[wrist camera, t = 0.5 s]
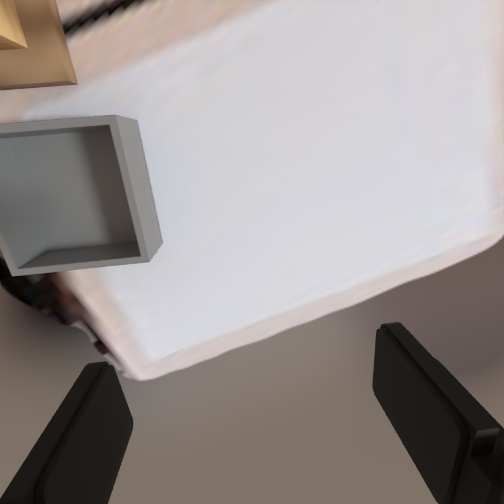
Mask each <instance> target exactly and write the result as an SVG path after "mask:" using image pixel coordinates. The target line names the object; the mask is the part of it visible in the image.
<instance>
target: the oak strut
mask: <svg viewBox="0 0 504 504" xmlns="http://www.w3.org/2000/svg"><path fill="white" fill-rule="evenodd" d="M26 48H28V47H27V43H26V40H25V37H24V34H23V31H22V27H21V24H20V21H19V18H18V14H17V11H16V8H15V5H14V1H13V0H0V50H12V49H26Z"/></svg>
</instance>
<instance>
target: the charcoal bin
mask: <svg viewBox="0 0 504 504" xmlns="http://www.w3.org/2000/svg"><path fill="white" fill-rule="evenodd" d="M162 243H163V241H162V237H161V232H160V227H159V222H158V217H157V212H156V208H155V203H154V198H153V193H152V188H151V184H150V179H149V174H148V169H147V164H146V159H145V155H144V150H143V145H142V140H141V135H140V131H139V126H138V121H137V120H134V119H130V118H126V117H122V116H119V115H105V116H93V117H81V118H69V119H56V120H44V121H32V122H20V123H7V124H0V249H1V251H2V253H3V256H4V258H5V260H6V263H7V265H8V267H9V270H10V272H11V274H12V276H20V275H29V274H39V273H49V272H58V271H68V270H78V269H87V268H97V267H106V266H116V265H126V264H135V263H145V262H150V261H151V259H152V258H153V256H154V255H155V253H156V252H157V250H158V249H159V248H160V246H161V245H162Z"/></svg>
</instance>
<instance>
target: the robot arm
mask: <svg viewBox="0 0 504 504" xmlns="http://www.w3.org/2000/svg"><path fill="white" fill-rule="evenodd" d="M373 391H374V394H375V396H376V398H377V400H378V401H379V403H380V405H381V406H382V408H383V410H384V411H385V413H386V415H387V417H388V419H389V420H390V422H391V424H392V426H393V427H394V429H395V431H396V432H397V434H398V436H399V437H400V439H401V441H402V443H403V445H404V446H405V448H406V450H407V451H408V453H409V455H410V457H411V458H412V460H413V462H414V464H415V465H416V467H417V469H418V471H419V472H420V474H421V476H422V478H423V479H424V481H425V483H426V484H427V486H428V488H429V490H430V491H431V493H432V495H433V496H434V498H435V500H436V501H437V502H438V504H504V428H503V427H502V426H501V425H500V424H499V423H498V422H497V421H496V420H495V419H494V418H493V417H492V416H491V415H490V414H489V413H488V412H487V411H486V410H485V409H484V407H482V405H480V403H479V402H478V401H477V400H476V399H475V398H474V397H473V396H472V395H471V394H470V393H469V392H468V391H467V390H466V389H465V388H464V387H463V386H462V385H461V383H460V382H459V381H458V380H457V379H456V378H455V377H454V376H453V375H452V374H451V373H450V372H449V371H448V370H447V369H446V368H445V367H444V366H443V365H442V364H441V363H440V362H439V361H438V360H437V359H435V358H434V357H432V355H431V354H430V353H429V352H428V351H427V350H426V349H425V348H424V347H423V346H422V345H421V344H420V343H419V342H418V341H417V340H416V339H415V338H414V336H413V335H412V334H411V333H410V332H409V331H408V330H407V329H406V328H405V327H404V326H403V325H402V324H401V323H399V322H394V323H386V324H382V325H381V327H380V329H377V331H376V343H375V357H374V371H373ZM132 430H133V418H132V416H131V413H130V410H129V407H128V404H127V402H126V399H125V396H124V393H123V391H122V388H121V385H120V383H119V380H118V377H117V374H116V372H115V369H114V367H113V366H112V365H109V364H108V362H106V361H104V362H96V363H89V364H87V365H86V366H85V367H84V369H83V371H82V372H81V374H80V375H79V377H78V378H77V380H76V382H75V383H74V384H73V386H72V388H71V389H70V391H69V392H68V394H67V396H66V397H65V399H64V400H63V402H62V403H61V405H60V406H59V408H58V410H57V411H56V413H55V414H54V416H53V417H52V419H51V420H50V422H49V423H48V425H47V427H46V428H45V430H44V431H43V433H42V434H41V436H40V438H39V439H38V441H37V442H36V444H35V445H34V447H33V448H32V450H31V452H30V453H29V455H28V456H27V458H26V460H25V461H24V462H23V464H22V465H21V467H20V469H19V470H18V472H17V473H16V475H15V476H14V478H13V480H12V481H11V483H10V484H9V486H8V487H7V489H6V490H5V492H4V494H3V495H2V497H1V498H0V504H108V502H109V499H110V496H111V493H112V490H113V487H114V484H115V481H116V478H117V475H118V472H119V469H120V466H121V462H122V460H123V457H124V454H125V451H126V448H127V445H128V442H129V439H130V436H131V433H132Z"/></svg>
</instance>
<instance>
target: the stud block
mask: <svg viewBox="0 0 504 504" xmlns="http://www.w3.org/2000/svg"><path fill="white" fill-rule="evenodd" d="M13 1H14V5H15V8H16V11H17V14H18V18H19V21H20V24H21V27H22V31H23V34H24V37H25V40H26V43H27V47H28V48H26V49H12V50H0V90H10V89H23V88H37V87H50V86H63V85H76V84H77V80H76V76H75V73H74V69H73V65H72V61H71V58H70V54H69V50H68V46H67V43H66V39H65V35H64V31H63V28H62V24H61V20H60V16H59V12H58V9H57V5H56V1H55V0H13Z"/></svg>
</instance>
